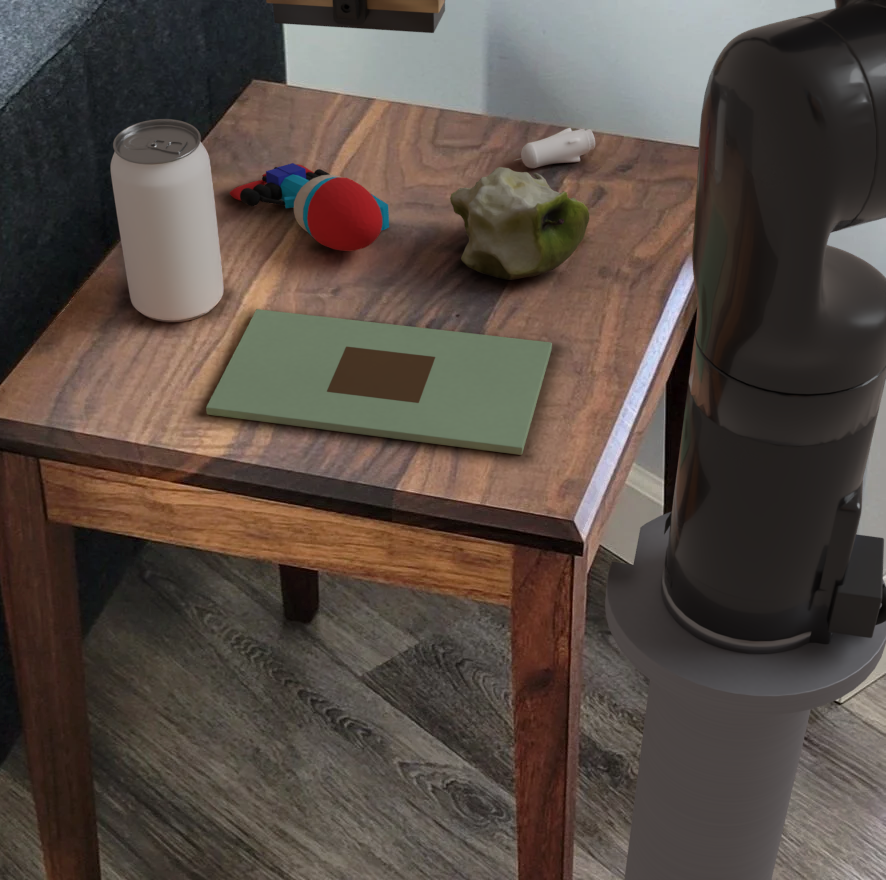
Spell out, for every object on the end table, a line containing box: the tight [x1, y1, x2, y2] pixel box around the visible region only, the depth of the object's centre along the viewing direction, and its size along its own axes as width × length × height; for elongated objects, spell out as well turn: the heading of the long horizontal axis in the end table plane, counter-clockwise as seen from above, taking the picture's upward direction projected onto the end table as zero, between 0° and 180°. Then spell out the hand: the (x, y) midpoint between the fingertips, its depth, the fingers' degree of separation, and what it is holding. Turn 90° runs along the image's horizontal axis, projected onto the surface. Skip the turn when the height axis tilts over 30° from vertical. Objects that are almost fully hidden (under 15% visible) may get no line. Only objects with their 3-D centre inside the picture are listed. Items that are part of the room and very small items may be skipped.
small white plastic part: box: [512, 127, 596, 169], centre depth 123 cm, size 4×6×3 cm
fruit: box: [449, 166, 590, 281], centre depth 112 cm, size 9×9×8 cm
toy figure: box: [228, 162, 390, 252], centre depth 117 cm, size 8×5×15 cm
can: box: [110, 118, 225, 323], centre depth 108 cm, size 6×6×12 cm
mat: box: [205, 308, 553, 456], centre depth 104 cm, size 20×11×1 cm, turn 75°
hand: (359, 6), depth 111 cm, fingers closed on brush, 4 cm apart
